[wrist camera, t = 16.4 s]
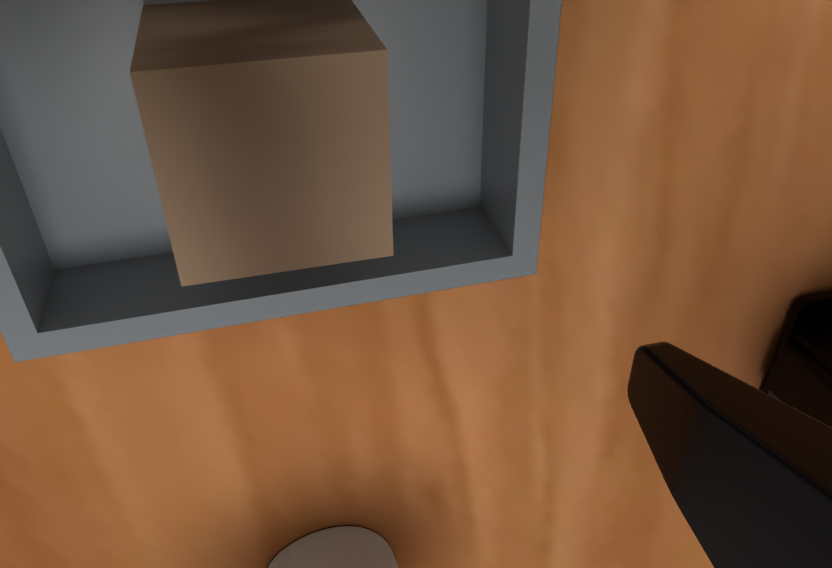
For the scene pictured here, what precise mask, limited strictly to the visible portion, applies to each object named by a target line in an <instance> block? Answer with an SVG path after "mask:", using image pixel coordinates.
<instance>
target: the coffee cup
mask: <svg viewBox="0 0 832 568" xmlns="http://www.w3.org/2000/svg"><path fill="white" fill-rule="evenodd" d="M268 568H398V565H397V563H396V560H395V557H394V555H393V552H392V550H391V548H390V546H389V545H388V543H387V542H386V540H384V539H383V538H382V537H381V536H380V535H378V534H377V533H375V532H373V531H371V530H368V529H365V528H362V527H355V526H340V527H333V528H328V529H324V530H321V531H317V532H314V533H311V534H309V535H307V536H305V537H302V538H300V539H298V540H297V541H295V542H293V543H292V544H290V545H288V546H287V547H286V548H285V549H283V550H282V551H281V552H279V553H278V555H277V556H276V557H275V558H274V559H273V560H272V561H271V563H270V565H269V566H268Z"/></svg>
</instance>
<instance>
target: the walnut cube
mask: <svg viewBox="0 0 832 568" xmlns="http://www.w3.org/2000/svg"><path fill="white" fill-rule="evenodd" d="M130 76H131V80H132V84H133V88H134V92H135V97H136V101H137V105H138V109H139V113H140V117H141V121H142V126H143V130H144V134H145V138H146V142H147V146H148V150H149V154H150V159H151V163H152V167H153V171H154V175H155V179H156V183H157V188H158V192H159V196H160V200H161V204H162V208H163V212H164V217H165V221H166V225H167V229H168V233H169V237H170V241H171V245H172V250H173V254H174V258H175V262H176V266H177V270H178V274H179V279H180V283H181V287H182V286H189V285H196V284H203V283H209V282H216V281H223V280H230V279H237V278H244V277H251V276H257V275H264V274H271V273H278V272H285V271H292V270H298V269H305V268H312V267H319V266H326V265H333V264H340V263H346V262H353V261H360V260H367V259H374V258H381V257H388V256H393V222H392V189H391V155H390V122H389V88H388V55H387V48H386V47H385V46H384V44H383V43H382V42H381V40H380V39H379V37H378V36H377V35H376V33H375V32H374V30H373V29H372V28H371V26H370V25H369V23H368V22H367V21H366V19H365V18H364V17H363V15H362V14H361V12H360V11H359V10H358V8H357V7H356V5H355V4H354V3H353V1H352V0H210V1H196V2H181V3H167V4H153V5H143V8H142V13H141V18H140V23H139V28H138V33H137V38H136V43H135V48H134V53H133V57H132V62H131V67H130Z"/></svg>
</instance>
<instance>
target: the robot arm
mask: <svg viewBox="0 0 832 568" xmlns="http://www.w3.org/2000/svg"><path fill="white" fill-rule="evenodd" d="M628 398H629V402H630V404H631V407H632V409H633V411H634V413H635V416H636V418H637V420H638V422H639V424H640V427H641V429H642V431H643V433H644V435H645V438H646V440H647V442H648V444H649V447H650V449H651V451H652V453H653V455H654V458H655V460H656V462H657V464H658V466H659V469H660V471H661V473H662V475H663V478H664V480H665V482H666V484H667V486H668V488H669V490H670V492H671V494H672V496H673V498H674V499H675V501H676V503H677V505H678V507H679V508H680V510H681V512H682V514H683V515H684V517H685V519H686V520H687V522H688V524H689V525H690V527H691V529H692V531H693V532H694V534H695V536H696V537H697V539H698V541H699V542H700V544H701V546H702V548H703V549H704V551H705V553H706V554H707V556H708V558H709V559H710V561H711V563H712V564H713V566H714V568H832V291H827V292H822V293H817V294H811V295H806V296H803V297H801V298H799V299H798V300H797V301H796V302H795V303H794V304H793V306H792V308H791V311H790V314H789V317H788V319H787V322H786V325H785V328H784V330H783V333H782V336H781V339H780V342H779V344H778V347H777V350H776V353H775V355H774V358H773V361H772V364H771V367H770V369H769V372H768V375H767V378H766V380H765V383H764V386H763V389H762V391H760V390H758V389H757V388H755V387H753V386H751V385H749V384H747V383H745V382H743V381H741V380H739V379H737V378H735V377H733V376H731V375H730V374H728V373H726V372H724V371H722V370H720V369H718V368H716V367H714V366H712V365H710V364H708V363H706V362H705V361H703V360H701V359H699V358H697V357H695V356H693V355H691V354H689V353H687V352H685V351H683V350H681V349H680V348H678V347H676V346H674V345H672V344H670V343H667V342H658V343H652V344H647V345H642V346H640V347H638V349H637V350H636V351H635V354H634V359H633V364H632V369H631V373H630V378H629V383H628Z"/></svg>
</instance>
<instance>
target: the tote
mask: <svg viewBox="0 0 832 568" xmlns="http://www.w3.org/2000/svg"><path fill="white" fill-rule="evenodd" d="M196 1H210V0H0V331H1V333H2V336H3V338H4V340H5V342H6V344H7V346H8V349H9V351H10V353H11V355H12V357H13V359H14V362H19V361H25V360H31V359H37V358H43V357H49V356H55V355H60V354H66V353H72V352H78V351H84V350H90V349H96V348H102V347H108V346H114V345H120V344H125V343H131V342H137V341H143V340H149V339H155V338H161V337H167V336H173V335H179V334H184V333H190V332H196V331H202V330H208V329H214V328H220V327H226V326H232V325H238V324H244V323H249V322H255V321H261V320H267V319H273V318H279V317H285V316H291V315H297V314H303V313H309V312H314V311H320V310H326V309H332V308H338V307H344V306H350V305H356V304H362V303H368V302H373V301H379V300H385V299H391V298H397V297H403V296H409V295H415V294H421V293H427V292H433V291H438V290H444V289H450V288H456V287H462V286H468V285H474V284H480V283H486V282H492V281H498V280H503V279H509V278H515V277H521V276H527V275H533V274H536V269H537V259H538V248H539V237H540V227H541V216H542V206H543V195H544V185H545V174H546V163H547V153H548V142H549V132H550V121H551V111H552V100H553V89H554V79H555V68H556V58H557V47H558V37H559V26H560V15H561V5H562V0H352V1H353V3H354V4H355V5H356V7H357V8H358V10H359V11H360V12H361V14H362V15H363V17H364V18H365V19H366V21H367V22H368V23H369V25H370V26H371V28H372V29H373V30H374V32H375V33H376V35H377V36H378V37H379V39H380V40H381V42H382V43H383V44H384V46H385V47H386V48H387V55H388V88H389V122H390V155H391V189H392V222H393V256H388V257H381V258H374V259H367V260H360V261H353V262H346V263H340V264H333V265H326V266H319V267H312V268H305V269H298V270H292V271H285V272H278V273H271V274H264V275H257V276H251V277H244V278H237V279H230V280H223V281H216V282H209V283H203V284H196V285H189V286H182V287H181V283H180V279H179V274H178V270H177V266H176V262H175V258H174V254H173V250H172V245H171V241H170V237H169V233H168V229H167V225H166V221H165V217H164V212H163V208H162V204H161V200H160V196H159V192H158V188H157V183H156V179H155V175H154V171H153V167H152V163H151V159H150V154H149V150H148V146H147V142H146V138H145V134H144V130H143V126H142V121H141V117H140V113H139V109H138V105H137V101H136V97H135V92H134V88H133V84H132V80H131V76H130V67H131V62H132V57H133V53H134V48H135V43H136V38H137V33H138V28H139V23H140V18H141V13H142V8H143V5H153V4H167V3H181V2H196Z"/></svg>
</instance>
